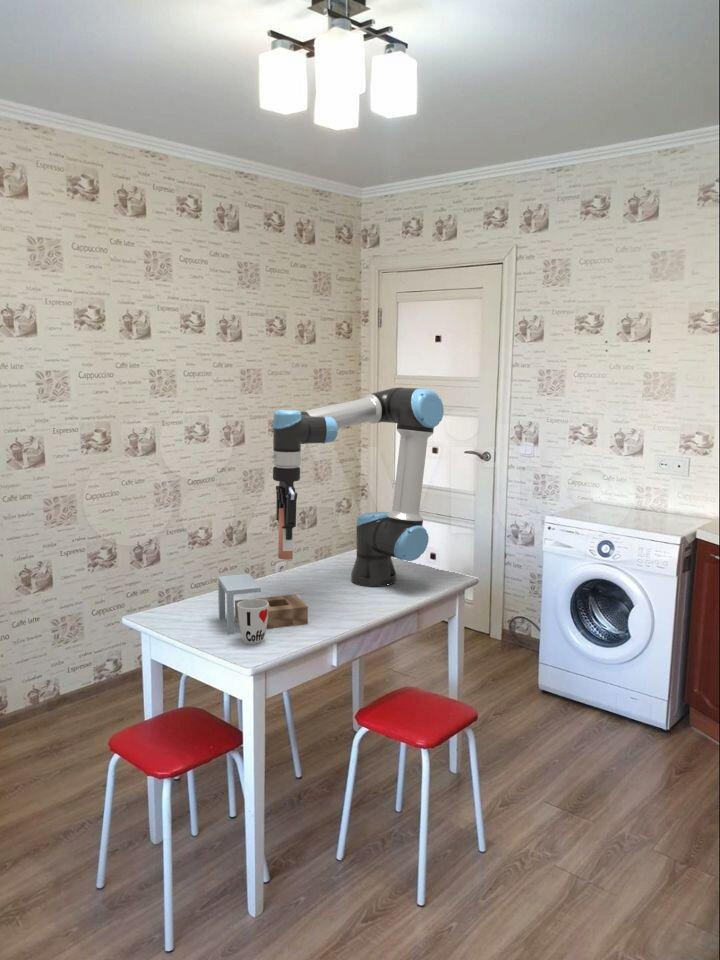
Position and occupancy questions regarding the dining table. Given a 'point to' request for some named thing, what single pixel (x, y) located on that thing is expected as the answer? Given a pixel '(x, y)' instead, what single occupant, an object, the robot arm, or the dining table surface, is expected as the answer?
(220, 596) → the grey-blue stool
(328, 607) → the dining table surface
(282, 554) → the dowel
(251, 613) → the cup
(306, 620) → the socket block
